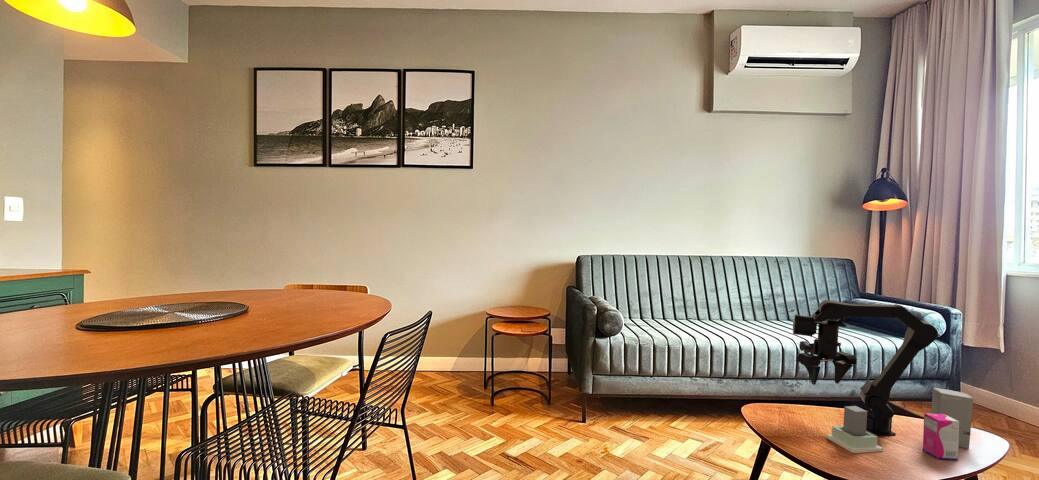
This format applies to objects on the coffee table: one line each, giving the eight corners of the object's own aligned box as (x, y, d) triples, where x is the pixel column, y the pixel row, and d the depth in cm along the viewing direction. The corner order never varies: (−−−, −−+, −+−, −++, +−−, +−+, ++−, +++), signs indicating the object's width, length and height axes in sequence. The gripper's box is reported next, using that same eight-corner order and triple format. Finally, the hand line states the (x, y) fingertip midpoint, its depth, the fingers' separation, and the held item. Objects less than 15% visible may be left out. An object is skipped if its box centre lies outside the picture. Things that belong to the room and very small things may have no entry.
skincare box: (935, 443, 147) (939, 393, 146) (927, 434, 153) (930, 386, 153) (971, 450, 143) (975, 398, 143) (962, 440, 150) (965, 390, 149)
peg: (853, 437, 148) (855, 406, 147) (865, 443, 144) (867, 411, 143) (842, 438, 147) (844, 406, 146) (853, 444, 143) (855, 411, 143)
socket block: (854, 436, 151) (854, 423, 151) (882, 451, 141) (883, 438, 141) (826, 437, 149) (826, 425, 149) (853, 453, 140) (853, 439, 139)
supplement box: (942, 451, 142) (944, 413, 142) (958, 461, 136) (961, 421, 136) (921, 449, 143) (923, 412, 142) (936, 459, 137) (939, 420, 136)
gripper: (831, 331, 170) (828, 374, 171) (785, 332, 166) (783, 377, 167) (859, 339, 159) (856, 385, 160) (811, 341, 155) (808, 388, 156)
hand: (825, 383), depth 161 cm, fingers open, 9 cm apart
